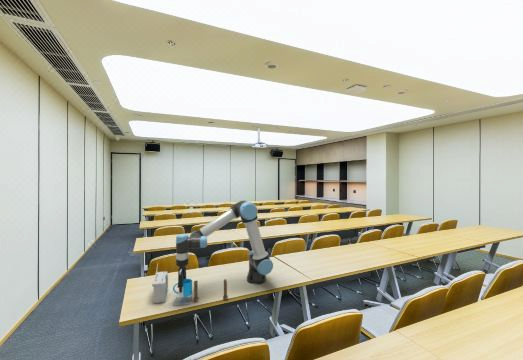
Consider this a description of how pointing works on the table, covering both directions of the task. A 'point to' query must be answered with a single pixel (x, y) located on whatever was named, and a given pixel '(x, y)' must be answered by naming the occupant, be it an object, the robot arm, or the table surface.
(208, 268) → the table surface
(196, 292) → the walnut standards
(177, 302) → the grey mat
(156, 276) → the stereo radio cassette player
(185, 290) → the mug
